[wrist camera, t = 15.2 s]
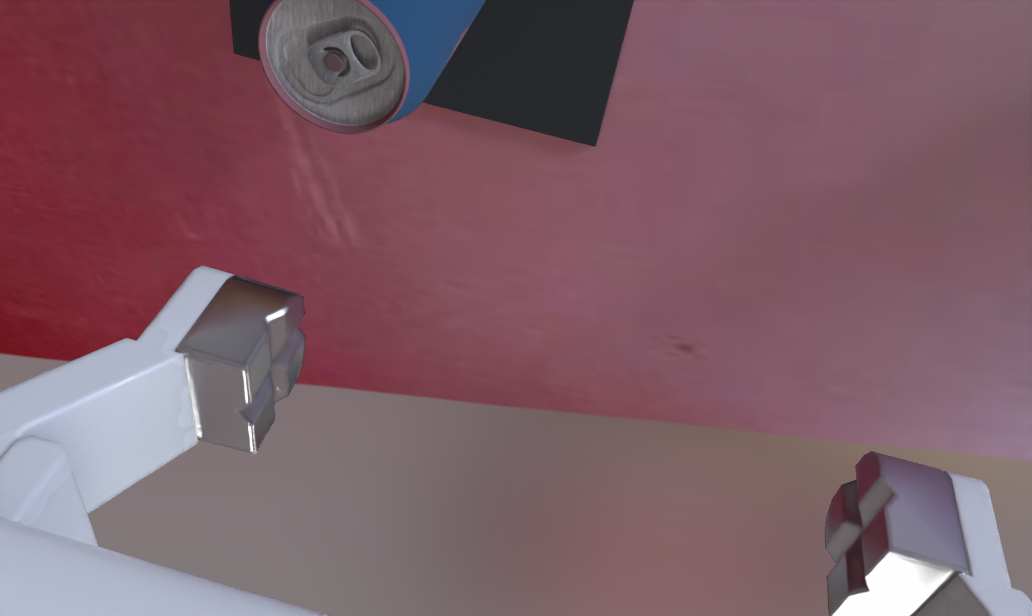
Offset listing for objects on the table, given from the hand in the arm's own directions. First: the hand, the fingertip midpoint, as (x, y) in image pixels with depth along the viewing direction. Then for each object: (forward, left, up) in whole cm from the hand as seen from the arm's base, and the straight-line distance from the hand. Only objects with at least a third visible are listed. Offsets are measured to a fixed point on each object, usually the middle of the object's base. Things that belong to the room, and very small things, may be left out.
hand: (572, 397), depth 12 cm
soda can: (+11, +7, -31) cm, 33 cm away
